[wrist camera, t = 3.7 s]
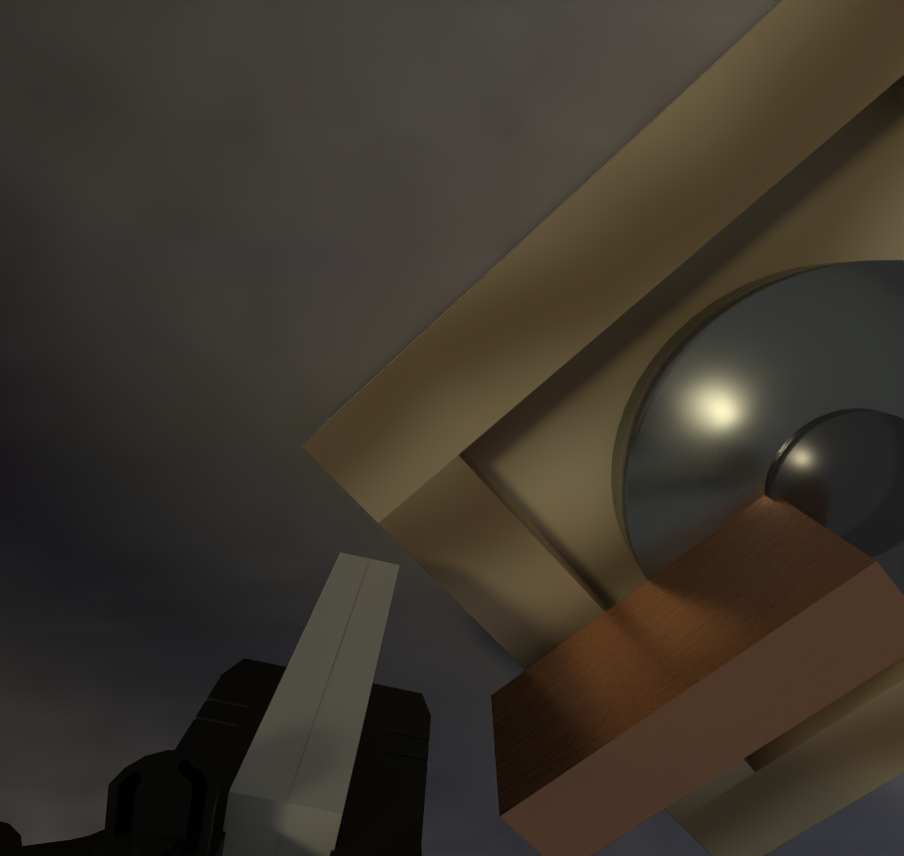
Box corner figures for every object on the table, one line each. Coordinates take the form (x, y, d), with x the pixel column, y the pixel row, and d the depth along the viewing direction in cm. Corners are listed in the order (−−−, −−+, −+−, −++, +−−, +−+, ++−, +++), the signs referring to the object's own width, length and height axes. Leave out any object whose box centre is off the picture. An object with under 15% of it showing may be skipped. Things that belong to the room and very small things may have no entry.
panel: (326, 421, 17) (299, 448, 14) (880, -91, 14) (993, -193, 11) (695, 798, 21) (733, 881, 18) (1214, 470, 17) (1368, 507, 14)
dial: (873, 167, 13) (1128, 92, 8) (1080, 479, 15) (1390, 575, 10) (393, 565, 16) (361, 691, 11) (616, 785, 18) (676, 978, 13)
